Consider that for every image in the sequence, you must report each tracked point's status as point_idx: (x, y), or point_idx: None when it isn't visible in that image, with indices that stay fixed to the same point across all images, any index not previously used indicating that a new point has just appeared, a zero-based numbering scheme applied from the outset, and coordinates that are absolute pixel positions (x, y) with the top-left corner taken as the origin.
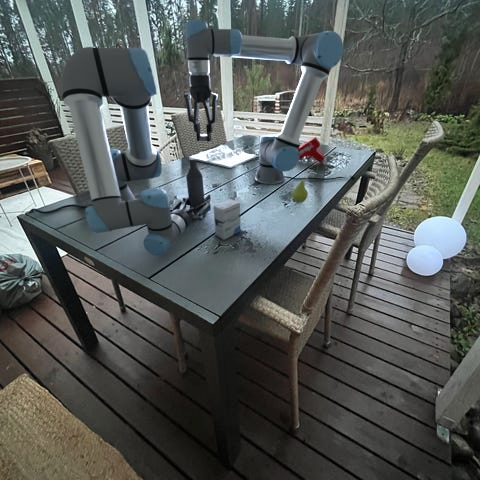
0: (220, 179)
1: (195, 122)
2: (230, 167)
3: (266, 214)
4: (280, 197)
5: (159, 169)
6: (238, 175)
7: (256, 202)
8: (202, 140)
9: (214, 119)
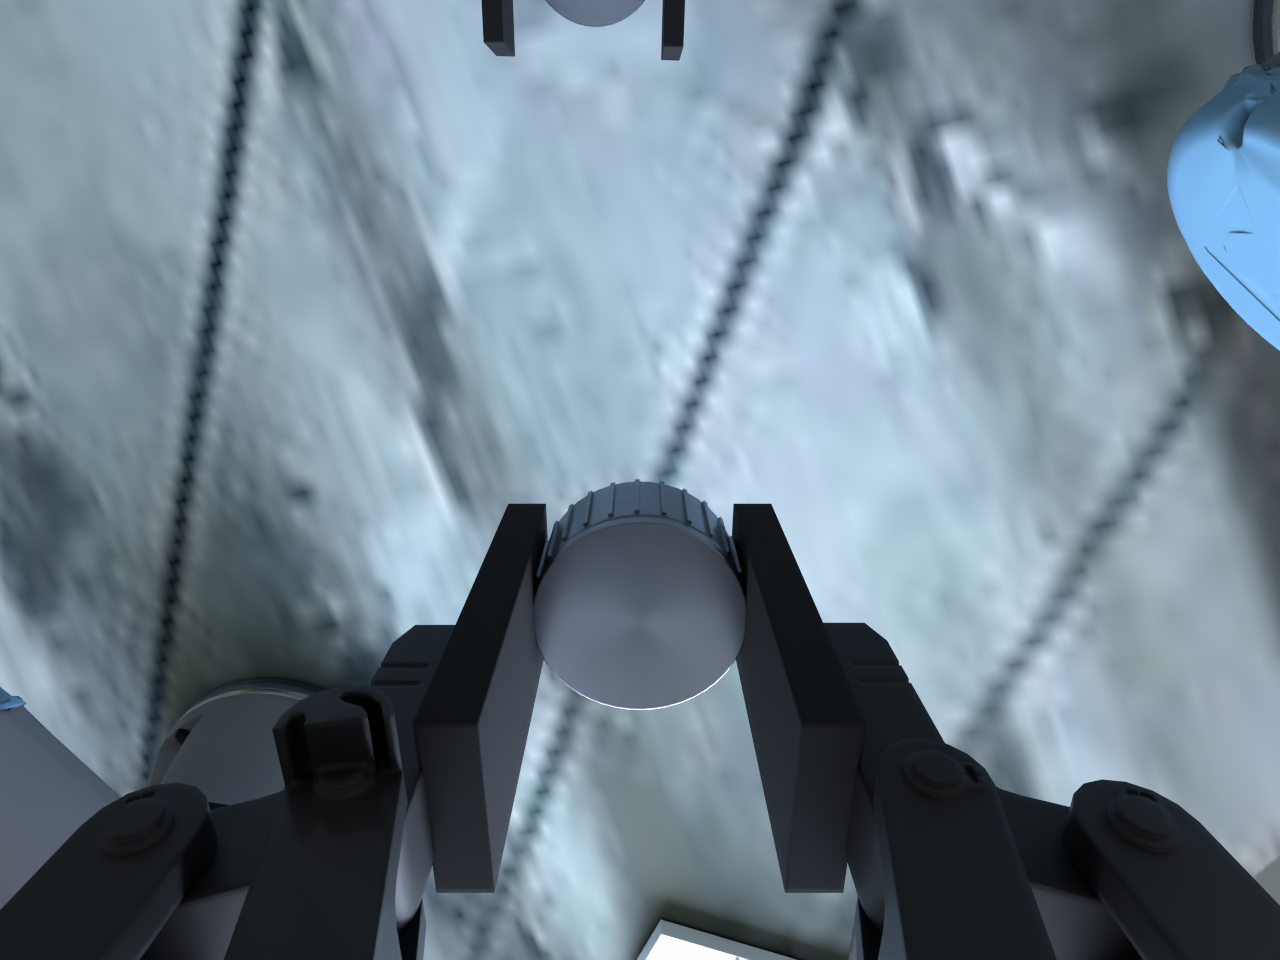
0: (668, 713)
1: (884, 770)
2: (660, 925)
3: (48, 136)
4: (81, 486)
5: (1219, 97)
6: (554, 810)
7: (221, 349)
8: (635, 480)
9: (49, 883)
